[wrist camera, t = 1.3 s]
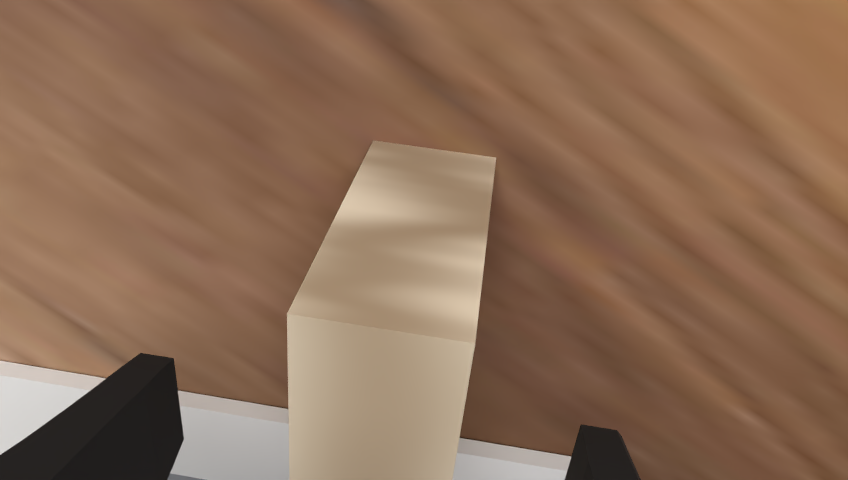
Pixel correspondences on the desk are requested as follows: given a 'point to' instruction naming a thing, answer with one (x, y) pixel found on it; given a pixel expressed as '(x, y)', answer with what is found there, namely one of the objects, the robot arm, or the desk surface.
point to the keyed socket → (233, 433)
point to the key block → (390, 320)
